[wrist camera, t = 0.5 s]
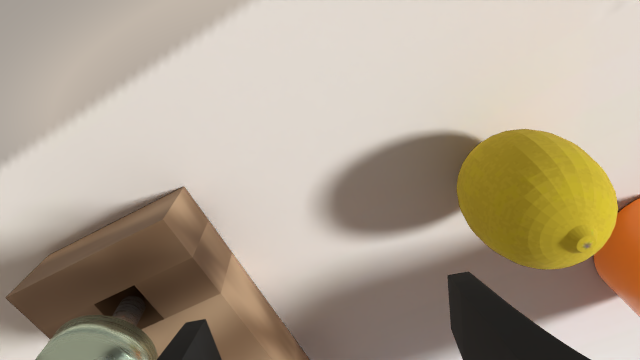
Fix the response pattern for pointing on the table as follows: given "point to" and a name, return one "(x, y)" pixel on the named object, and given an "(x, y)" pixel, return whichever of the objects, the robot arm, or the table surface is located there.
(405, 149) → the table surface
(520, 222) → the lemon
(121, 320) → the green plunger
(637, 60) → the table surface
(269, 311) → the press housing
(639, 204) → the shaker bottle
